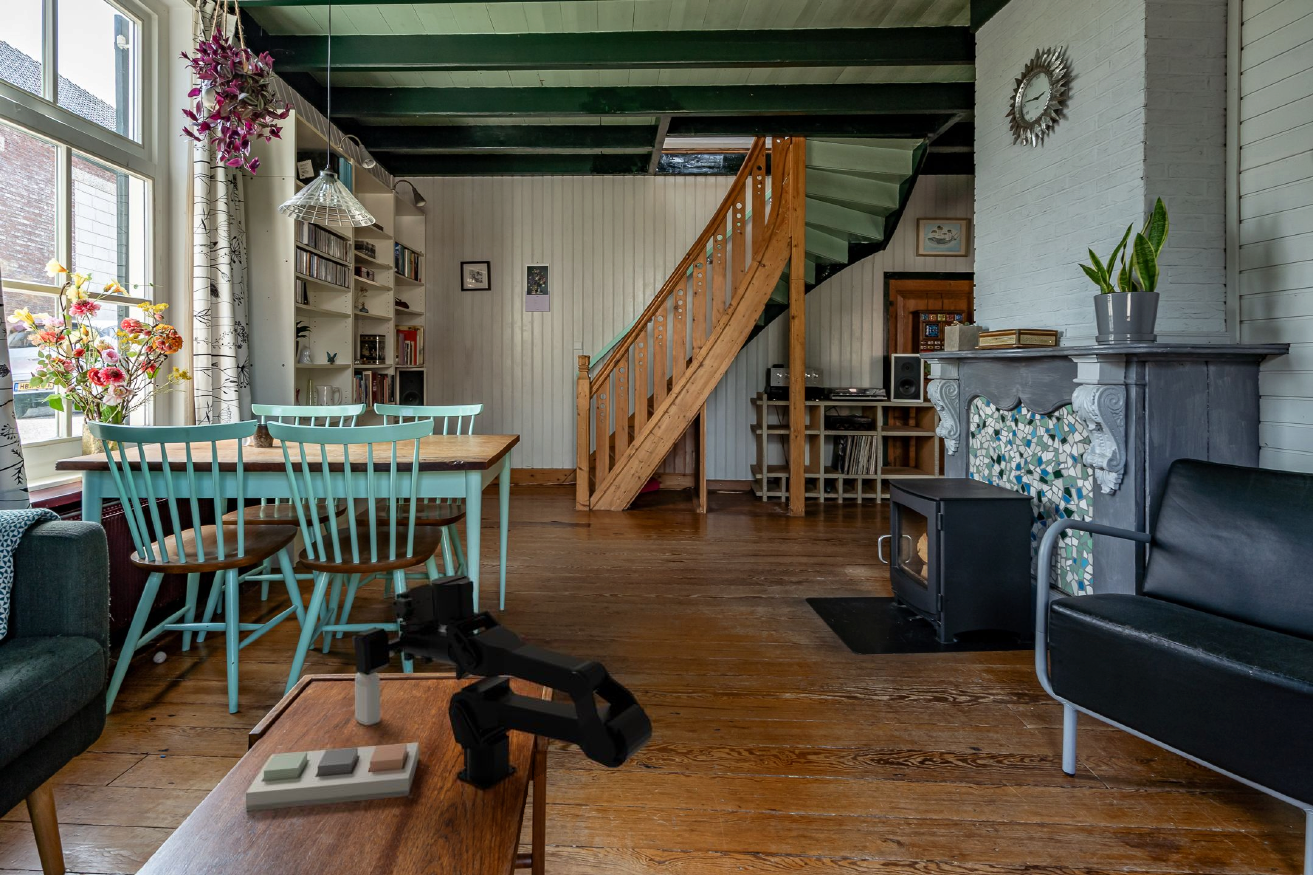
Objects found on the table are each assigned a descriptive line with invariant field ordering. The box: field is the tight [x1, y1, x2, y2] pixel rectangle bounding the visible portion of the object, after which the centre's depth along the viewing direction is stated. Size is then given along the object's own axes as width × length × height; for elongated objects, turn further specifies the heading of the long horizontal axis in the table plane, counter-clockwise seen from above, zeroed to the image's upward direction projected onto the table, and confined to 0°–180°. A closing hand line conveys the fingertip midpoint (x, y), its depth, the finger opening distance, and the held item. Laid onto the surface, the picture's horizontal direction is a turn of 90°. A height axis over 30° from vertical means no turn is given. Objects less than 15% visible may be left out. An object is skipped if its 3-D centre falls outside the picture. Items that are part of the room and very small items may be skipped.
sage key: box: [264, 751, 307, 781], centre depth 98 cm, size 4×4×2 cm
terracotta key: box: [370, 743, 407, 772], centre depth 101 cm, size 4×4×2 cm
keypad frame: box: [245, 742, 420, 812], centre depth 99 cm, size 21×10×3 cm, turn 102°
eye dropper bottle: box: [354, 672, 381, 726], centre depth 118 cm, size 4×6×12 cm
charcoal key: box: [318, 747, 358, 777], centre depth 99 cm, size 4×4×2 cm
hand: (377, 631), depth 114 cm, fingers open, 9 cm apart
